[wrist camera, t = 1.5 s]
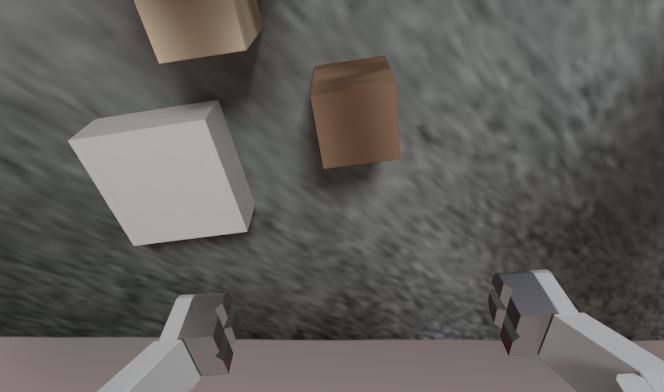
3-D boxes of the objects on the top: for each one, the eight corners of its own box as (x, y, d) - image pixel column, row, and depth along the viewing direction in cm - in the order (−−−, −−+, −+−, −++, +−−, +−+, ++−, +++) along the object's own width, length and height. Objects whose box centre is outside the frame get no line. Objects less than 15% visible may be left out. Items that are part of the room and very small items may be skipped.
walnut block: (384, 55, 26) (396, 83, 21) (388, 121, 29) (400, 159, 24) (314, 65, 27) (310, 95, 22) (325, 129, 30) (323, 168, 25)
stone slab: (219, 98, 29) (204, 119, 25) (255, 202, 34) (247, 231, 31) (97, 117, 30) (68, 140, 26) (152, 216, 35) (133, 245, 32)
